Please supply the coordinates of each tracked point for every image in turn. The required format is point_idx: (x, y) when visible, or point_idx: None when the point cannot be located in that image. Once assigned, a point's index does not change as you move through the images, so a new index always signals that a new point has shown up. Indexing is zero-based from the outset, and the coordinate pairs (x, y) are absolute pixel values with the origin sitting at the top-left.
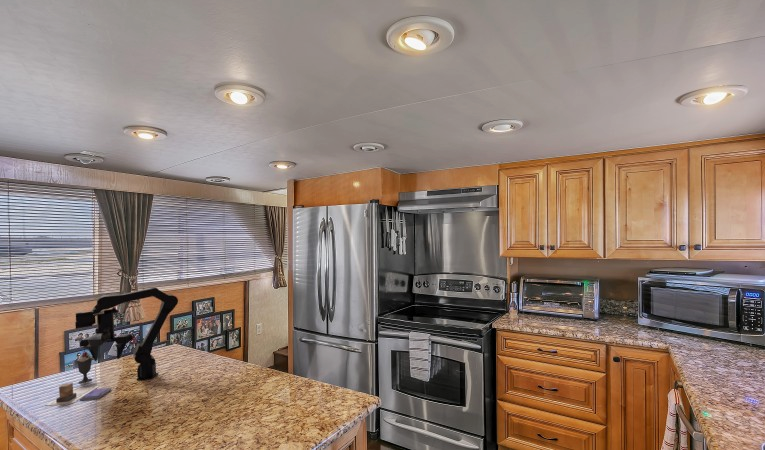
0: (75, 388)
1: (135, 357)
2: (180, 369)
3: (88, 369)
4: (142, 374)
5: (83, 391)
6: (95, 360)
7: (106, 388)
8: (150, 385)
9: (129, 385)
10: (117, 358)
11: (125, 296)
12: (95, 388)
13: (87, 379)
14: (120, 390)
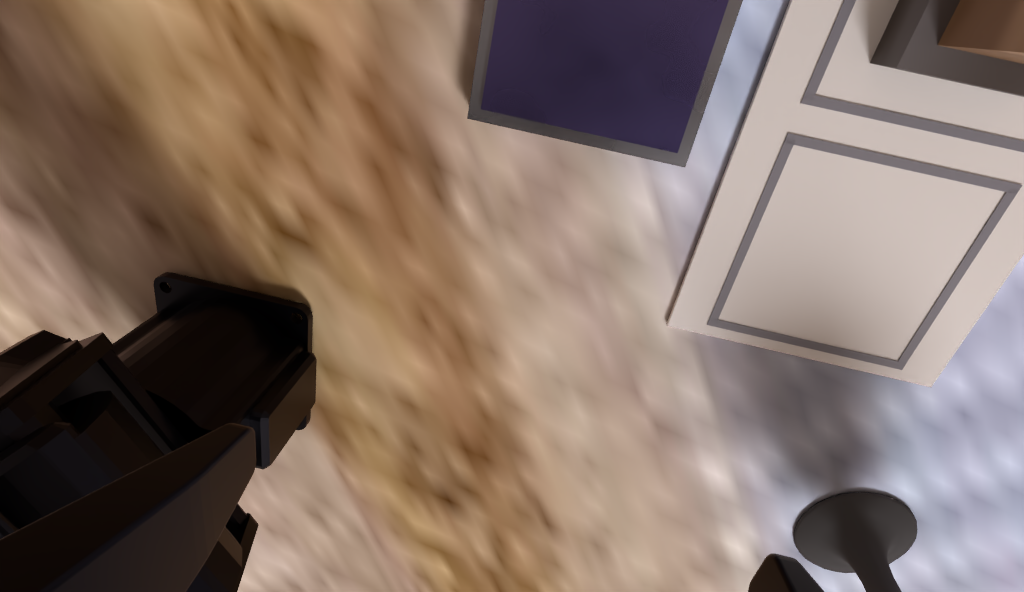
0: (923, 371)
1: (22, 449)
2: None
3: None
4: (219, 328)
5: (811, 223)
6: (782, 561)
7: (518, 110)
8: (50, 63)
9: (320, 187)
10: (236, 430)
11: None
12: (690, 263)
13: (838, 538)
14: (352, 52)
